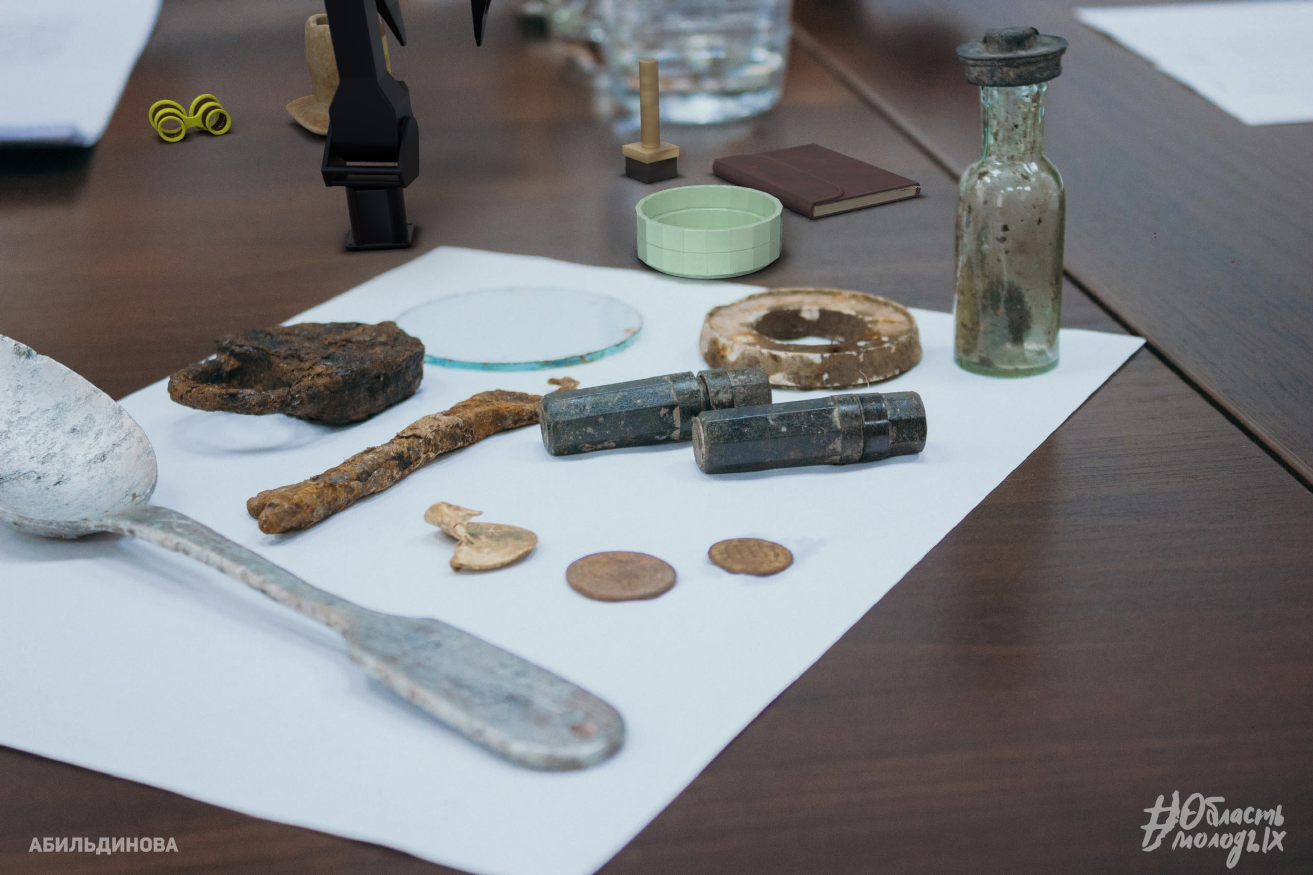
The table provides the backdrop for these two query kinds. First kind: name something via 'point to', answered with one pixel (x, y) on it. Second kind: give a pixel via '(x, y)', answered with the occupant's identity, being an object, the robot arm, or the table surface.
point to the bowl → (709, 231)
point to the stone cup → (317, 77)
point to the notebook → (815, 179)
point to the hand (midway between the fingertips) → (441, 45)
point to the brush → (650, 133)
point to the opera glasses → (198, 117)
